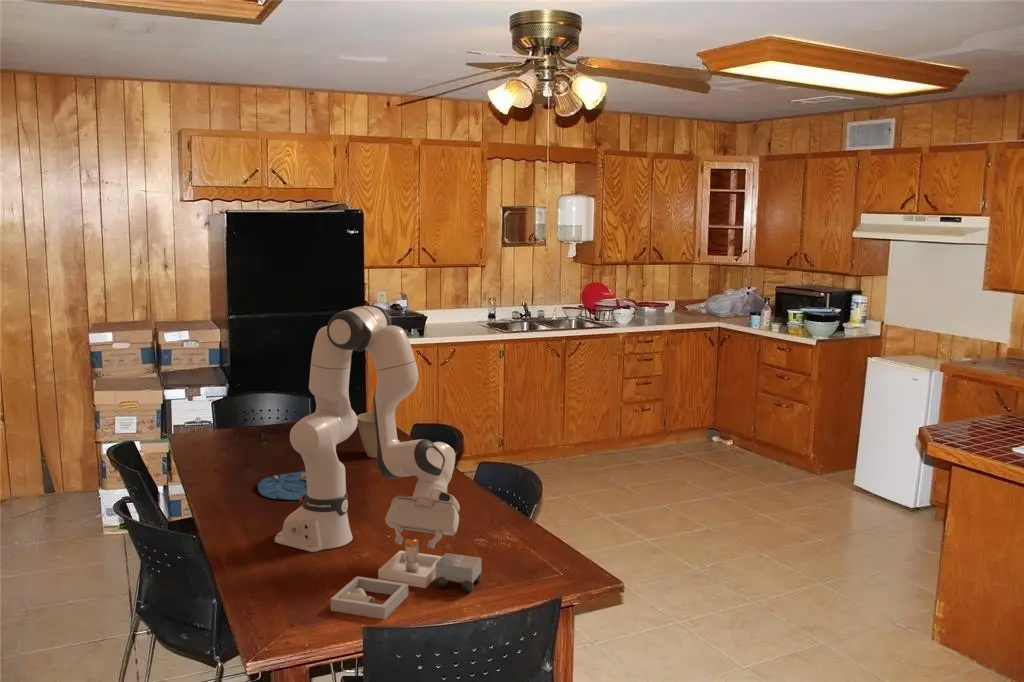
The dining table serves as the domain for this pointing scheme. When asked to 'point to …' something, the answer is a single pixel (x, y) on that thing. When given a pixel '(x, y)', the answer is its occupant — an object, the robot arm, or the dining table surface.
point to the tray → (397, 573)
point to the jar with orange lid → (412, 554)
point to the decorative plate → (284, 486)
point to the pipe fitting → (357, 596)
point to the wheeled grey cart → (458, 571)
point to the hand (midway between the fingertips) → (414, 545)
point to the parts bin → (366, 608)
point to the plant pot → (368, 433)
